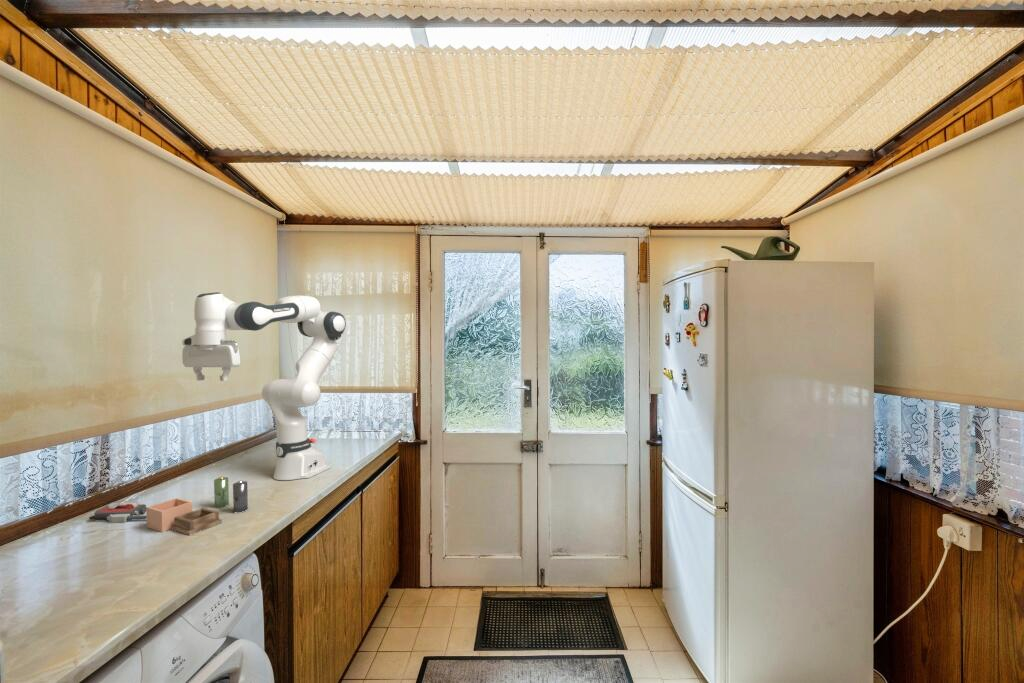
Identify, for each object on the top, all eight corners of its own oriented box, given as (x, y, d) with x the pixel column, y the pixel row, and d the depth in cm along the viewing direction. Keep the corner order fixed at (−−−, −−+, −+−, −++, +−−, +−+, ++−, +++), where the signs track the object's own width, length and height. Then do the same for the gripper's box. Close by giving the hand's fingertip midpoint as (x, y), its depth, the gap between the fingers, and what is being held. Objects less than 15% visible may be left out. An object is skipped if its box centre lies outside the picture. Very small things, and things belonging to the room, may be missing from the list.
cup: (177, 516, 140) (176, 497, 140) (192, 521, 136) (192, 501, 136) (147, 527, 133) (146, 507, 132) (162, 532, 129) (161, 511, 129)
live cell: (224, 502, 151) (223, 474, 151) (231, 504, 150) (230, 476, 149) (212, 506, 148) (211, 478, 147) (219, 508, 146) (218, 480, 146)
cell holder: (204, 517, 139) (203, 506, 139) (221, 522, 135) (221, 511, 135) (171, 529, 131) (171, 517, 131) (189, 535, 127) (189, 523, 127)
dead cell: (242, 507, 147) (242, 478, 147) (250, 509, 145) (249, 480, 145) (230, 511, 143) (230, 482, 143) (238, 513, 142) (237, 484, 141)
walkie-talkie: (82, 525, 135) (152, 522, 137) (82, 511, 135) (152, 508, 137) (106, 513, 144) (171, 511, 146) (106, 500, 144) (171, 497, 145)
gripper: (244, 339, 151) (245, 379, 152) (194, 340, 156) (196, 379, 156) (229, 339, 145) (230, 381, 146) (177, 340, 149) (179, 381, 150)
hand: (212, 380), depth 151 cm, fingers open, 8 cm apart
